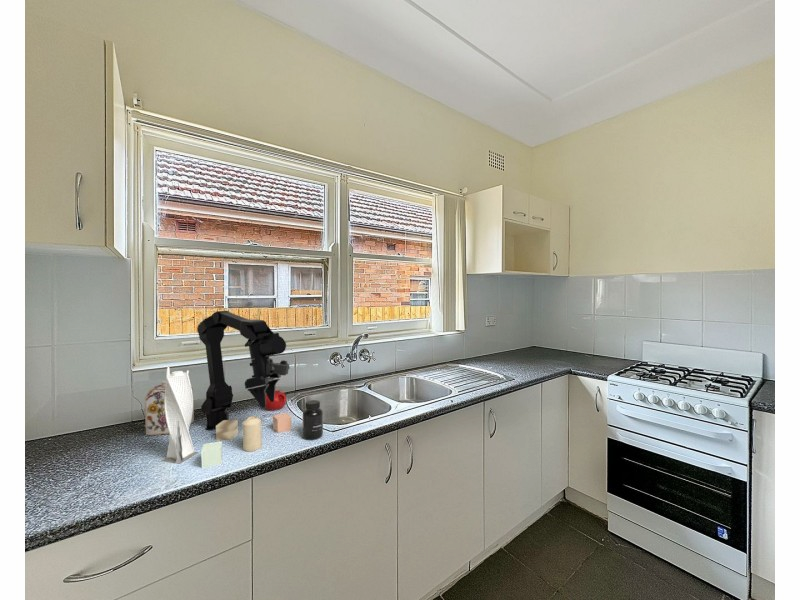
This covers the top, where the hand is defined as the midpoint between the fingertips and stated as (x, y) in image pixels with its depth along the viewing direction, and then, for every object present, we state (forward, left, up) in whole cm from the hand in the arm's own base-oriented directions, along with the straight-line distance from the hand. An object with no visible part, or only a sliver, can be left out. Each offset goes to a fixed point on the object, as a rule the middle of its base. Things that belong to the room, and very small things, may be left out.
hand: (268, 404), depth 116 cm
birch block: (-15, +9, -13) cm, 22 cm away
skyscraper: (-26, -2, -14) cm, 29 cm away
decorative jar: (-37, +22, -13) cm, 45 cm away
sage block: (-15, -9, -13) cm, 22 cm away
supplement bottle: (+14, +2, -13) cm, 20 cm away
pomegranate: (-2, +35, -13) cm, 38 cm away
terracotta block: (+3, +11, -13) cm, 18 cm away
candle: (-5, -2, -13) cm, 14 cm away
